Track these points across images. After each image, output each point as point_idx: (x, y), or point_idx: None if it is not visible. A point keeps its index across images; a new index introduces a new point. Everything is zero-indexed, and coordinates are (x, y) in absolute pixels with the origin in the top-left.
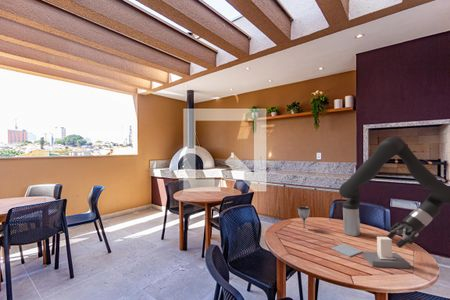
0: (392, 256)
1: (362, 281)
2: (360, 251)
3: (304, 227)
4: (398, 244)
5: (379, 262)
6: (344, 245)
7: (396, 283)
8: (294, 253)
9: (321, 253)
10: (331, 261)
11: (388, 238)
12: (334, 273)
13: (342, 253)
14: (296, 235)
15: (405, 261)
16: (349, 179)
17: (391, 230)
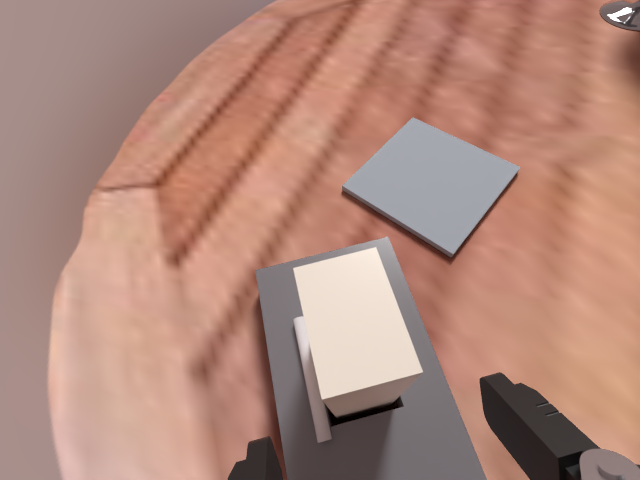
0: (389, 433)
1: (109, 221)
2: (441, 242)
3: (635, 4)
4: (244, 464)
5: (263, 312)
6: (489, 168)
7: (94, 367)
8: (298, 30)
9: (336, 94)
10: (266, 127)
11: (356, 365)
12: (164, 138)
13: (370, 161)
14: (500, 7)
15: None
16: None
17: (622, 472)
